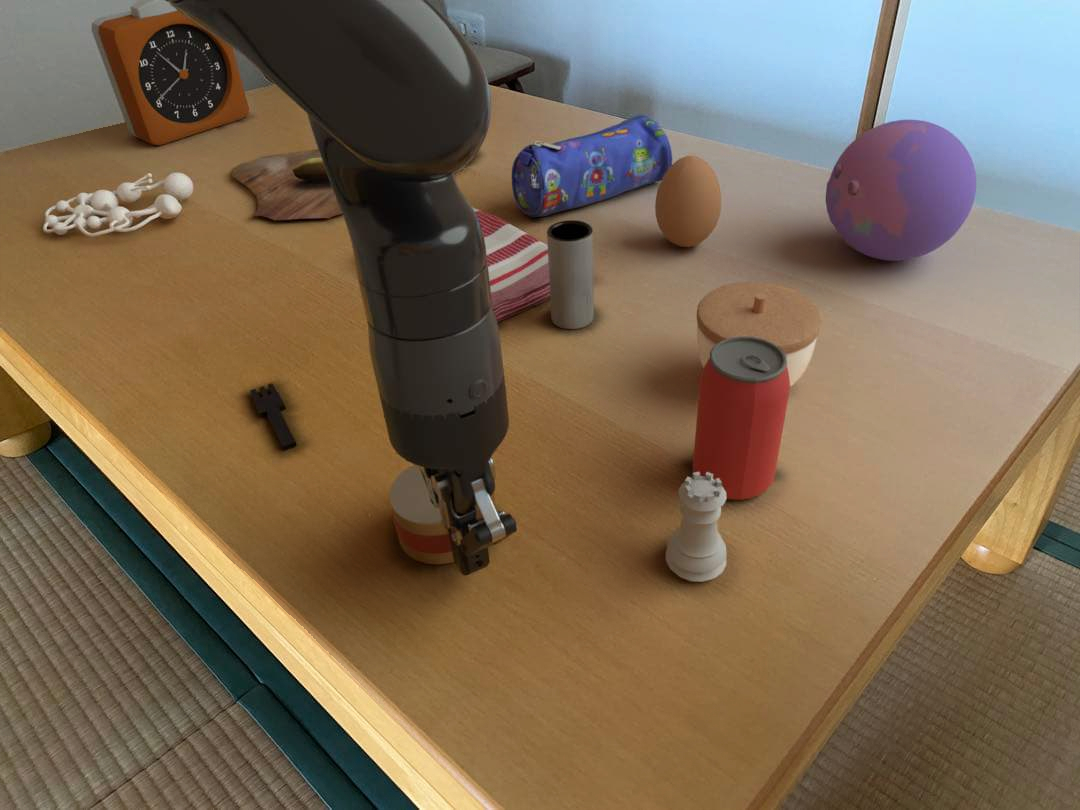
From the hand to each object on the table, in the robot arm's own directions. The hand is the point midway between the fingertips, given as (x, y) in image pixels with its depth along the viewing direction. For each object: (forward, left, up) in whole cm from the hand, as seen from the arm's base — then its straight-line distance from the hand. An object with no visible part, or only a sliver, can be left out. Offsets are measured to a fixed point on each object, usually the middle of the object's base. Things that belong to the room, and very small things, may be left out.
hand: (472, 564), depth 59 cm
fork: (+9, +27, -2) cm, 28 cm away
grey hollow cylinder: (+35, +8, -2) cm, 36 cm away
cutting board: (+60, +54, -2) cm, 81 cm away
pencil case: (+63, +18, -2) cm, 66 cm away
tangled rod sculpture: (+35, +75, -2) cm, 83 cm away
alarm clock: (+66, +93, -2) cm, 114 cm away
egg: (+55, +2, -2) cm, 55 cm away
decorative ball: (+61, -20, -2) cm, 64 cm away
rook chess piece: (+8, -14, -2) cm, 16 cm away
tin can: (+3, +5, -2) cm, 6 cm away
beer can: (+18, -14, -2) cm, 23 cm away
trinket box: (+31, -12, -2) cm, 33 cm away
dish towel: (+41, +23, -2) cm, 47 cm away
